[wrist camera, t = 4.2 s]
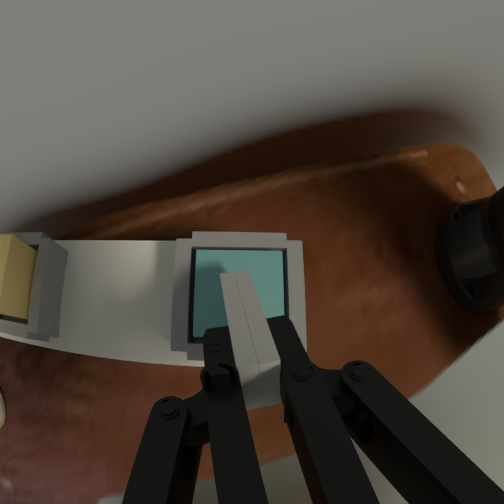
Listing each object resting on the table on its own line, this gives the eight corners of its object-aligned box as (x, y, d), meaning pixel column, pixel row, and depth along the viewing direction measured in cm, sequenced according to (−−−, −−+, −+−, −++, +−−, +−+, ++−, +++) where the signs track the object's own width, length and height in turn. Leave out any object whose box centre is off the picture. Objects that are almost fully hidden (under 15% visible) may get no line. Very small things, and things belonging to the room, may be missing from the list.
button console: (277, 271, 30) (300, 226, 19) (279, 362, 27) (307, 368, 16) (48, 265, 28) (-10, 227, 18) (40, 342, 25) (-27, 330, 15)
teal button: (274, 267, 21) (282, 251, 18) (276, 339, 20) (284, 337, 16) (202, 265, 21) (196, 249, 18) (199, 339, 19) (192, 336, 16)
